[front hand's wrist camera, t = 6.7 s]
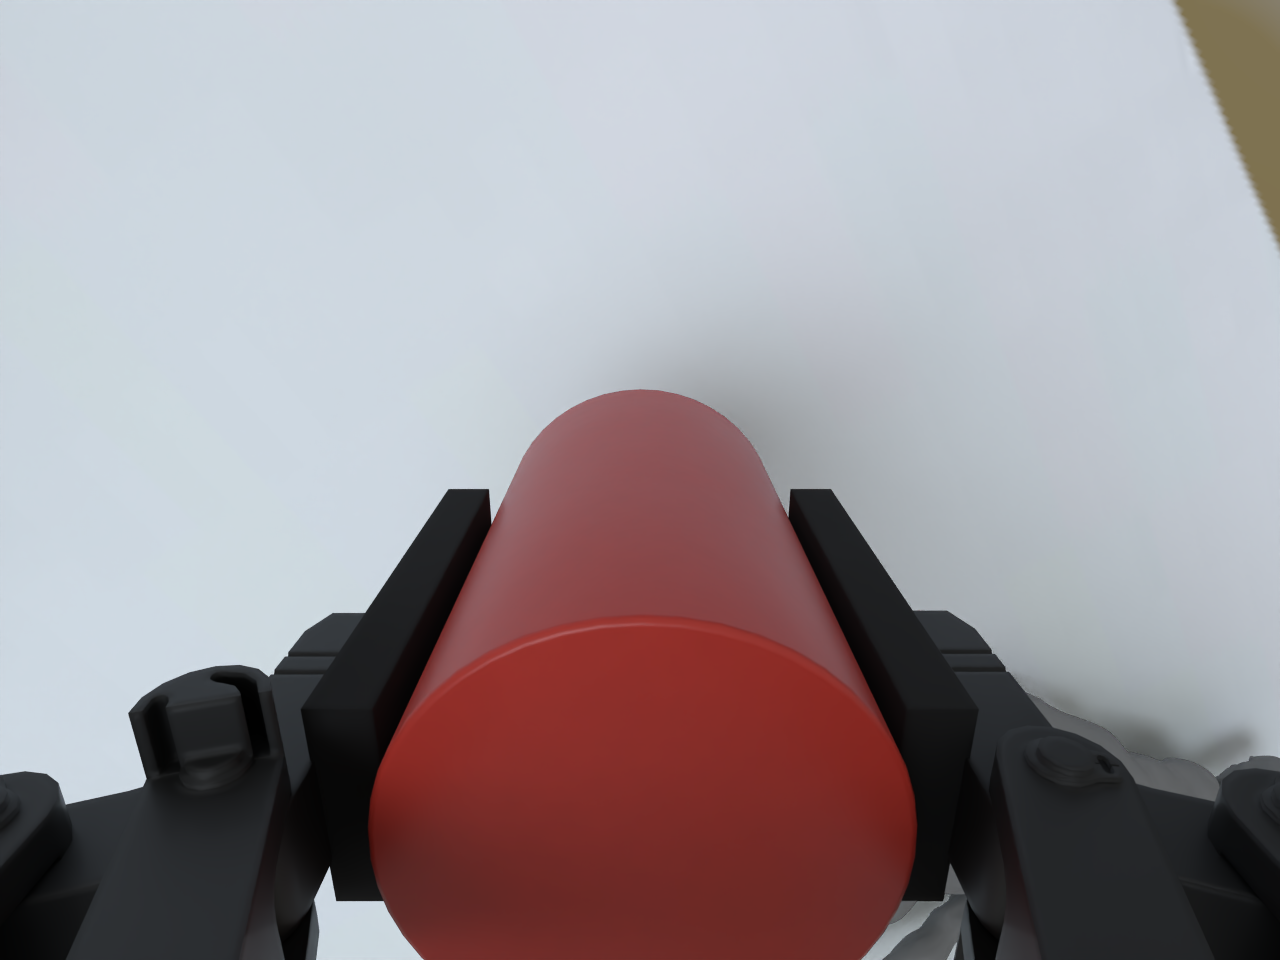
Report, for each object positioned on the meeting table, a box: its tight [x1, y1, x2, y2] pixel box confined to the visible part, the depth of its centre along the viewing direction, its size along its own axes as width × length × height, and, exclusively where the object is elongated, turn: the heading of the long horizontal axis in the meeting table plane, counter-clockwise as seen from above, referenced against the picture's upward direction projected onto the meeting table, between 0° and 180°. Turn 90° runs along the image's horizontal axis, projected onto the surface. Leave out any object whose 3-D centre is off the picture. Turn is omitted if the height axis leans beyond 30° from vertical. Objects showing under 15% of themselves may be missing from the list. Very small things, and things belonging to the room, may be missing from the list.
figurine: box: [883, 692, 1280, 960], centre depth 30 cm, size 17×4×20 cm
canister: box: [368, 389, 917, 960], centre depth 12 cm, size 6×6×9 cm
